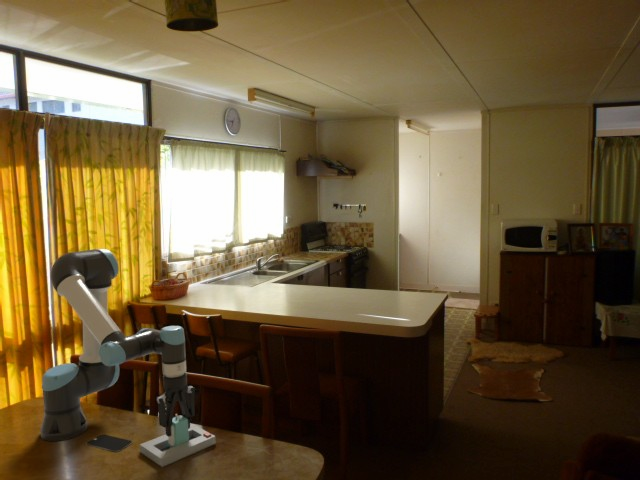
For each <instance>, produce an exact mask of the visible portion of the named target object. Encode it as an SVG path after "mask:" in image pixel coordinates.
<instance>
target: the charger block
mask: <svg viewBox="0 0 640 480" xmlns="http://www.w3.org/2000/svg"><path fill="white" fill-rule="evenodd" d="M172 426H174V437H175V446H177V445H180V444H182V443H185V442H187V441H189V435H188V419H187V418H185V417H183V415H178V413H175V416H173V419H172ZM175 446H172V445H170V448H173V447H175Z"/></svg>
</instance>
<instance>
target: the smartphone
mask: <svg viewBox="0 0 640 480" xmlns="http://www.w3.org/2000/svg"><path fill="white" fill-rule="evenodd" d="M85 445H87V446H90V447H93V448H98V449H102V450H105V451H109V452H111V453H118V452H121V451H123V450H124V449H126V448H128V447H129V446H131V445H133V440H129V439H125V438H120V437H116V436H112V435H107V434H100V435H98V436H96V437H95V438H92V439H91V440H88V441H87V442H86V443H85Z"/></svg>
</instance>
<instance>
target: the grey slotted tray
mask: <svg viewBox="0 0 640 480" xmlns="http://www.w3.org/2000/svg"><path fill="white" fill-rule="evenodd" d="M188 432H189V441H187V442H185V443H182V444H180V445H177V446H175V447H173V448H170V444H169V442H168V436H167V435H166V433H165V434H163V435H160V436H157V437H155V438H153V439H150V440H147V441H146V442H143V443H140V444H139V450H140V451H139V453H141V455H143V456H144V457H146V458H147V459H149V460H150V461H152V462H153V463H155V464H156V465H158V466H159V467H161V468H165V467H167V466H169V465H172V464H173V463H176V462H179V461H181V460H183V459H185V458H187V457H190V456H192V455H194V454H196V453H198V452H201V451H203V450H206V449H208V448H210V447H213V446H215V445H216V444H217V441H216V440H217V439H216V435H214V434H212V433H210V432H209V431H206V430H205V429H203V428H201V427H200V426H198V425H196V424H194V423H190V428H189V429H188Z"/></svg>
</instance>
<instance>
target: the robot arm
mask: <svg viewBox="0 0 640 480" xmlns="http://www.w3.org/2000/svg"><path fill="white" fill-rule="evenodd" d="M51 266H52V267H51V270H50V281H51V284H52V287H53V289H54V290H55V292H56V293H57V295H58V296H60V297H64V298H65V300H66V301H67V303H68V304H69V305H70V306H71V307H72V309H73V310H74V312H75V313H76V314H77V316H78V317H79V319H80V320H81V322H82V347H83V348H82V350H83V352H82V354H80V355H79V357H78V365H77V364H76V363H72V362H71V363H70V362H68V363H64V364H63V363H61V364H57V365H55V366H53V367H51V368H49V369H48V370H46V371H45V372H44V374H43V375H42V379H41V380H42V382H41V389H42V397H43V407H44V409H43V410H44V415H43V420H42V422H41V427H40V437H41V440H43V441H46V442H47V441H48V442H60V441H61V442H62V441H65V440H69V439H73V438H75V437H77V436H79V435H81V434H83V433H84V432H86V430H87V429H88V421H87V418H86V416H85V413H84V411H83V409H82V406H81V399H82V398H83V397H86V396H89V395H92V394H94V393H95V394H96V393H97V392H100V391H104V390H107V389H108V388H110V387H112V386H114V385H115V383H116V382H118V379H119V377H120V365H121V364H123V363H126V362H129V361H132V360H134V359H138V358H142V357H145V356H147V355H150V354H156V355H161V363H162V374H163V376H162V380H163V381H162V382H163V392H162V393H163V394H162V395H160V396H156V398H155V400H156V402H157V409H158V422H159V423H158V424H159V426H161V427H162V428H165V434H166V435H167V436H168V442H169V444H170V445H172V446H175V437H174V426H172V419H173V418H174V412H175V407H176V404H177V402H178V404H179V407H180V409H181V413H182V416H183V417H185V418H187V419H188V429H189V428H190V425H191V421H192V418H193V417H195V415H196V413H195V412H196V408H195V405H196V404H195V394H196V393H195V391H196V387H193V386H192V385H189V386H188V377H187V376H188V375H187V374H188V373H187V357H186V338H185V329H184V328H183V326H180V325H169V326H164V327H162V328H160V330H159V329H155V328H151V327H150V328H149V327H146V328H145V327H144V328H141V329H140V330H138V331H137V332H136V333H135V334H132V335H129V336H126V335H125V334H124V332H122V330H121V329H120V328H119V326H118V325H117V323H116V322H115V321H114V320H113V318H112V317H111V316H110V314H108V305H109V304H108V290H109V289H110V288H111V287H112V285H113V284H112V282H113V281H112V280H114V279H115V278H116V277H118V274H119V263H118V259H117V258H116V256H115V255H114V253H112V251H110V250H109V249H106V248H95V249H88V250H81V251H73V252H67V253H64V254H62V255H61V256H59V257H58V258H57V259H55V261H54V263H53V264H52V265H51ZM186 398H187V399H186ZM188 435H189V432H188Z"/></svg>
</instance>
